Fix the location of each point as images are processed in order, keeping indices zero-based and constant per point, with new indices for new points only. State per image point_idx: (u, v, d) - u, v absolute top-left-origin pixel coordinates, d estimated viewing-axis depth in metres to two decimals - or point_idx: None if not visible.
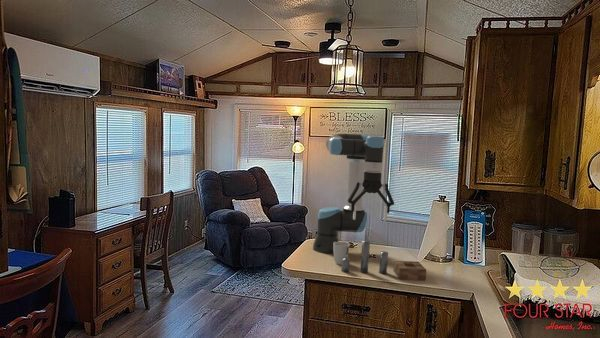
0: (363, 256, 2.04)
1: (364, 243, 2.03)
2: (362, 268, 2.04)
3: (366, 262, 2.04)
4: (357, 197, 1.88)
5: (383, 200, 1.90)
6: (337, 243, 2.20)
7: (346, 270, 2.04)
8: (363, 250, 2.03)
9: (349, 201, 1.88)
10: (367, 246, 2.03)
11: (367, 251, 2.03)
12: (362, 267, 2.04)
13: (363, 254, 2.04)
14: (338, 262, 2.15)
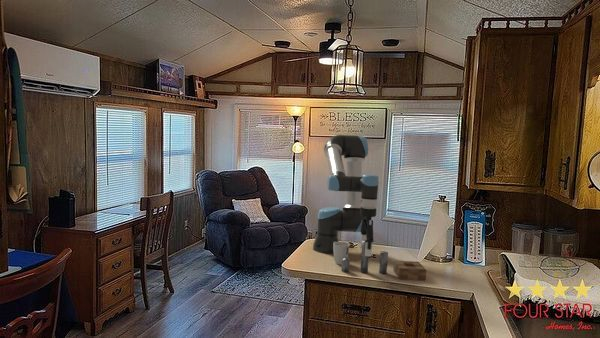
0: (363, 256, 2.04)
1: (364, 243, 2.03)
2: (362, 268, 2.04)
3: (366, 262, 2.04)
4: (362, 228, 2.10)
5: None
6: (337, 243, 2.20)
7: (346, 270, 2.04)
8: (363, 250, 2.03)
9: (360, 230, 2.13)
10: None
11: None
12: (362, 267, 2.04)
13: (363, 254, 2.04)
14: (338, 262, 2.15)
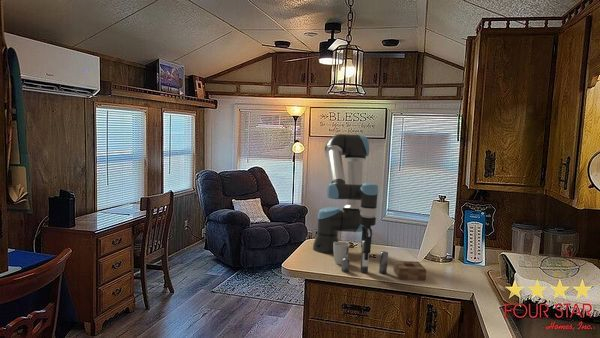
0: None
1: None
2: (362, 268, 2.04)
3: None
4: None
5: None
6: (337, 243, 2.20)
7: (346, 270, 2.04)
8: (363, 250, 2.03)
9: (361, 245, 2.10)
10: None
11: None
12: (362, 267, 2.04)
13: None
14: (338, 262, 2.15)
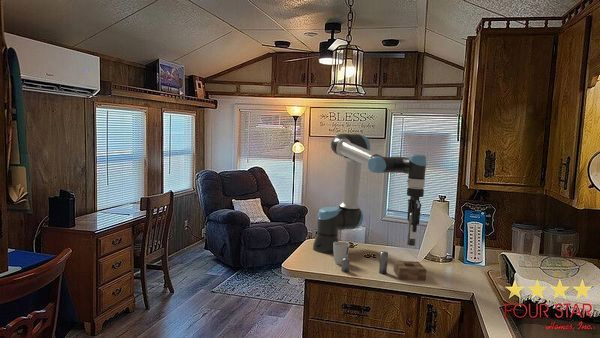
0: None
1: None
2: (410, 240, 2.01)
3: None
4: (409, 214, 2.04)
5: None
6: (337, 243, 2.20)
7: (346, 270, 2.04)
8: (411, 222, 2.01)
9: (407, 218, 2.07)
10: None
11: None
12: (410, 239, 2.01)
13: None
14: (338, 262, 2.15)
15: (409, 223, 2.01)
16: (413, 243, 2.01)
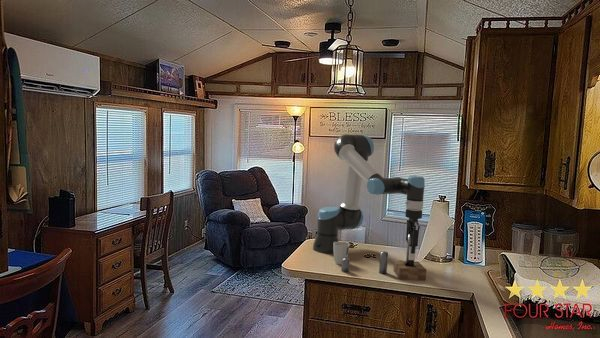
0: None
1: (410, 237, 2.01)
2: (408, 262, 2.02)
3: None
4: (407, 235, 2.05)
5: None
6: (337, 243, 2.20)
7: (346, 270, 2.04)
8: (409, 244, 2.02)
9: (406, 239, 2.08)
10: None
11: None
12: (408, 261, 2.02)
13: None
14: (338, 262, 2.15)
15: (408, 244, 2.02)
16: (412, 264, 2.02)
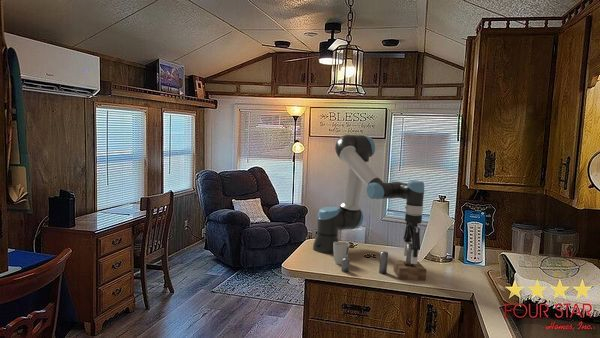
0: (408, 259, 2.02)
1: (409, 246, 2.02)
2: None
3: (411, 265, 2.02)
4: (406, 235, 2.08)
5: None
6: (337, 243, 2.20)
7: (346, 270, 2.04)
8: (408, 253, 2.02)
9: None
10: None
11: None
12: None
13: (408, 257, 2.02)
14: (338, 262, 2.15)
15: (407, 254, 2.03)
16: None
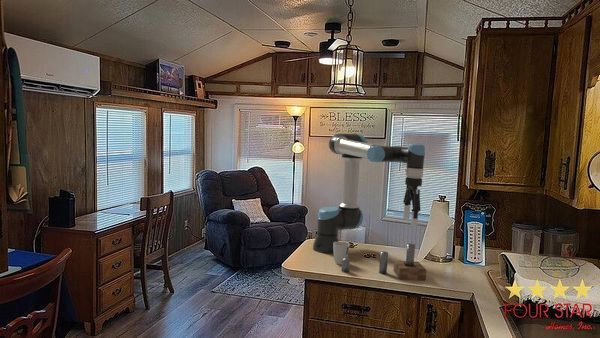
0: (408, 259, 2.02)
1: (409, 246, 2.02)
2: None
3: (411, 265, 2.02)
4: (405, 198, 2.09)
5: None
6: (337, 243, 2.20)
7: (346, 270, 2.04)
8: (408, 253, 2.02)
9: (403, 201, 2.12)
10: (412, 249, 2.01)
11: (412, 254, 2.02)
12: None
13: (408, 257, 2.02)
14: (338, 262, 2.15)
15: (407, 254, 2.03)
16: None
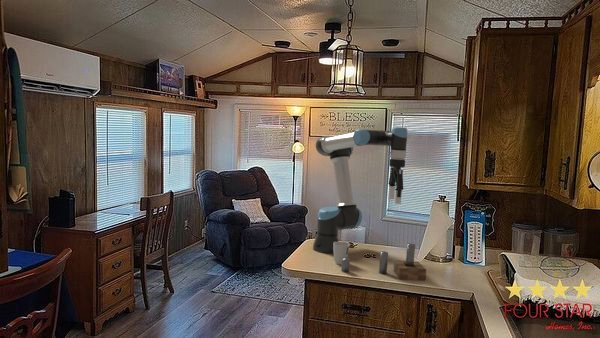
0: (408, 259, 2.02)
1: (409, 246, 2.02)
2: None
3: (411, 265, 2.02)
4: (390, 180, 2.20)
5: None
6: (337, 243, 2.20)
7: (346, 270, 2.04)
8: (408, 253, 2.02)
9: (388, 183, 2.24)
10: (412, 249, 2.01)
11: (412, 254, 2.02)
12: None
13: (408, 257, 2.02)
14: (338, 262, 2.15)
15: (407, 254, 2.03)
16: None
